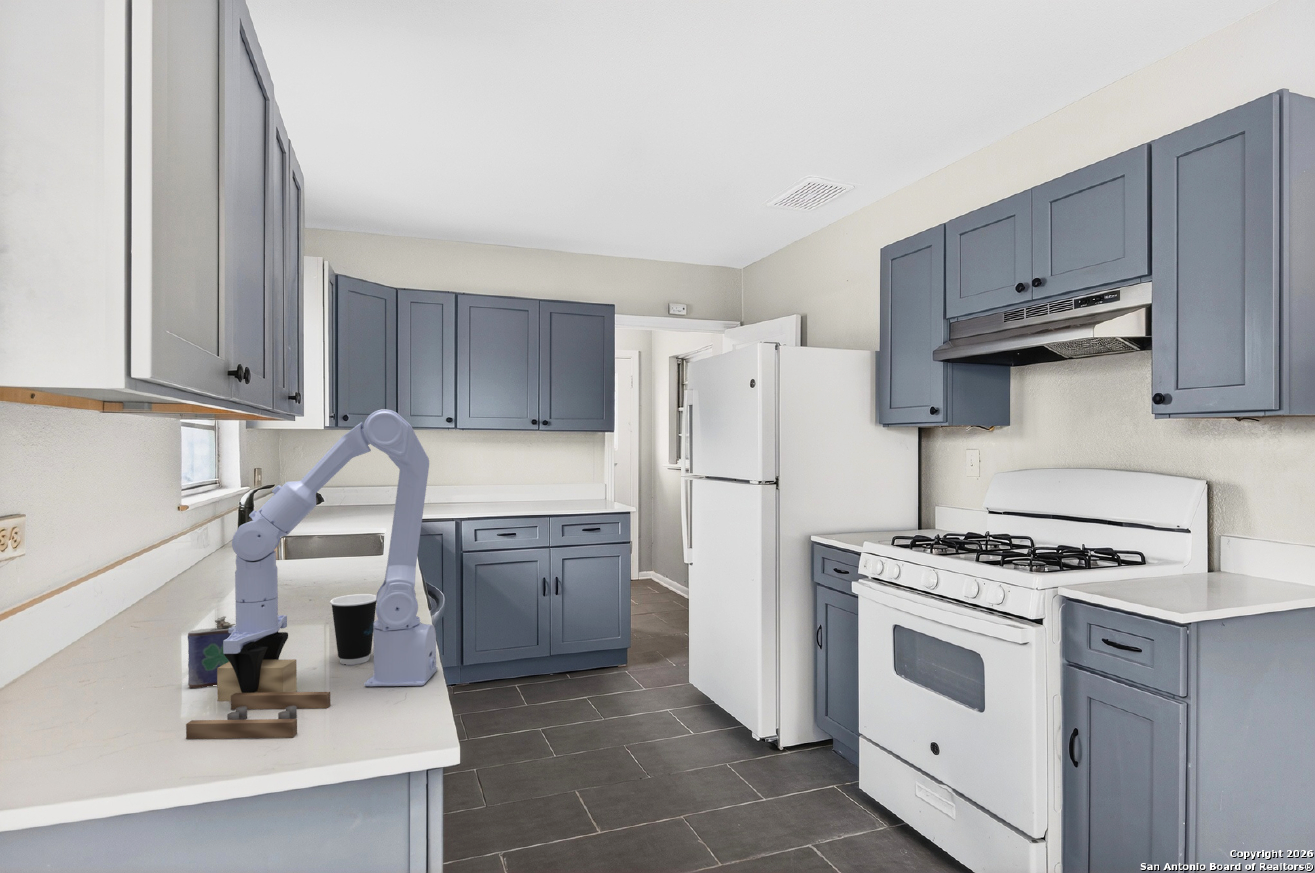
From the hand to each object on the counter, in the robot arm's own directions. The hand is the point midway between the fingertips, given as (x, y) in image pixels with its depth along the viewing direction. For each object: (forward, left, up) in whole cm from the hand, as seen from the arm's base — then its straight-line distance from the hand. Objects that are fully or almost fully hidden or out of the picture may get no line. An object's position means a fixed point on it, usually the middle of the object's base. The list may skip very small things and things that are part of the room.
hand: (257, 686), depth 111 cm
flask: (+9, -6, -2) cm, 11 cm away
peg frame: (-6, +10, -1) cm, 12 cm away
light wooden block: (0, 0, -1) cm, 1 cm away
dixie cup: (-8, -17, -2) cm, 19 cm away
